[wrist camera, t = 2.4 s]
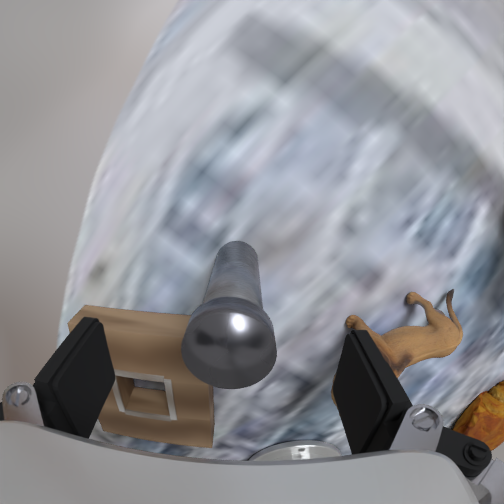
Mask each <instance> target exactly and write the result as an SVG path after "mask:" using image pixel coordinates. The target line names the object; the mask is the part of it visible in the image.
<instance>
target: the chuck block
mask: <svg viewBox="0 0 504 504" xmlns="http://www.w3.org/2000/svg"><path fill="white" fill-rule="evenodd" d="M83 317H92V318H97V319H98V320H99V322H101V323H102V324H103V327H104V331H105V336H106V340H107V344H108V349H109V353H110V357H111V361H112V364H113V368H114V372H115V382H114V384H113V387H112V389H111V391H110V393H109V395H108V397H107V399H106V401H105V404H104V406H103V408H102V410H101V412H100V414H99V417H98V419H99V422H100V424H101V426H102V429H103V431H106V432H110V433H115V434H119V435H124V436H129V437H134V438H139V439H144V440H150V441H156V442H163V443H170V444H177V445H186V446H195V447H206V448H212V444H213V434H214V425H215V423H214V400H213V386H211V385H209V384H206V383H204V382H202V381H201V380H199V379H198V378H196V377H195V376H194V375H193V374H192V373H191V372H190V371H189V370H188V368H187V367H186V365H185V363H184V361H183V358H182V354H181V344H182V340H183V337H184V334H185V331H186V328H187V325H188V322H189V319H190V317H191V315H179V314H166V313H154V312H143V311H133V310H123V309H114V308H105V307H97V306H89V305H85V306H84V307H83V308H82V309H81V310H80V311H79V312H78V313H77V314H76V315H75V316H74V317H73V318H72V319H71V320H70V321H69V322H68V327H69V331H70V333H71V331H72V330H73V329H74V328H75V326H76V325H77V324H78V323H79V322H80V320H81V319H82V318H83ZM133 378H135V379H141V380H148V381H156V382H164V384H165V391H162V390H154V389H147V388H140V387H135V386H134V382H133Z"/></svg>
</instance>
